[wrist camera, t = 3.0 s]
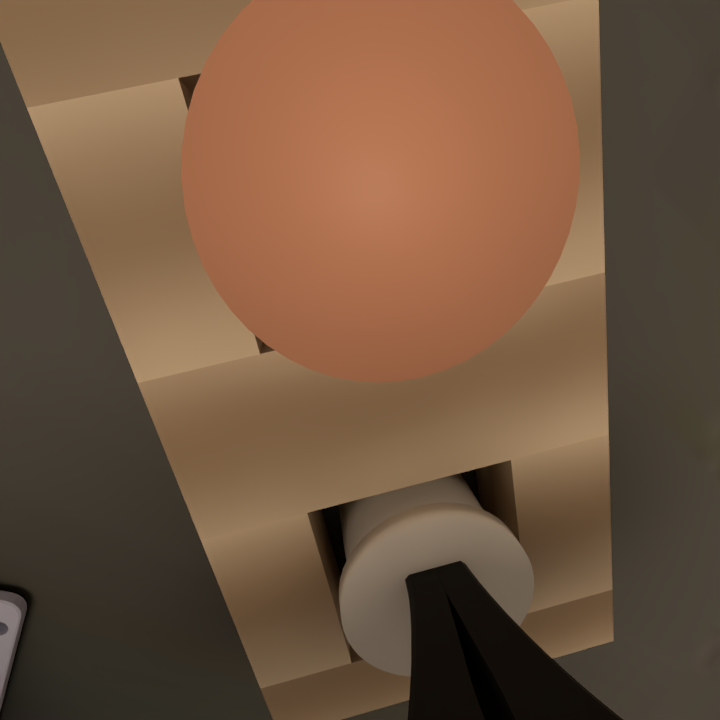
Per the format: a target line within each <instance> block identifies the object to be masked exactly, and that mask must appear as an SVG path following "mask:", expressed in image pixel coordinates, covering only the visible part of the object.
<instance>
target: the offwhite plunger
mask: <svg viewBox="0 0 720 720" xmlns="http://www.w3.org/2000/svg"><path fill="white" fill-rule="evenodd" d="M339 514H340V521H341V528H342V535H343V542H344V549H345V556H346V563H345V565H344V567H343V570H342V574H341V577H340V582H339V604H340V613H341V621H342V626H343V631H344V633H345V636H346V638H347V640H348V642H349V644H350V645H351V647H352V648H353V649H354V651H355V652H356V653H357V654H358V655H359V656H360V657H361V658H363V659H364V660H365V661H366V662H368V663H369V664H371V665H373V666H374V667H376V668H378V669H381V670H383V671H385V672H389V673H392V674H396V675H401V676H408V677H411V616H410V604H409V596H408V591H407V587H406V582H405V579H406V578H407V577H408V575H410V574H413V573H417V572H421V571H424V570H428V569H432V568H436V567H439V566H443V565H446V564H450V563H454V562H457V561H462V562H463V563H465V564H466V565H467V567H468V568H469V569H470V571H471V572H472V573H473V575H474V576H475V577H476V578H477V580H478V581H479V582H480V583H481V584H482V586H483V587H484V588H485V589H486V590H487V592H488V593H489V594H490V595H491V596H492V597H493V598H494V600H495V601H496V602H497V603H498V604H499V605H500V606H501V607H502V609H503V610H504V611H505V612H506V613H507V614H508V615H509V616H510V617H511V618H512V619H513V620H514V621H515V622H516V623H517V624H518V625H519V626H520V625H521V623H522V622H523V620H524V618H525V617H526V615H527V612H528V610H529V608H530V605H531V601H532V598H533V592H534V574H533V569H532V566H531V563H530V560H529V558H528V556H527V554H526V553H525V551H524V549H523V548H522V546H521V545H520V543H519V542H518V540H517V539H516V537H515V536H514V534H513V533H512V532H511V530H510V529H509V528H508V527H507V526H506V524H504V523H503V522H502V521H501V520H500V519H499V518H497V517H496V516H494V515H492V514H491V513H489V512H487V511H485V510H483V508H482V507H481V505H480V504H479V502H478V500H477V499H476V497H475V496H474V494H473V492H472V491H471V489H470V488H469V486H468V484H467V483H466V481H465V480H464V478H463V476H462V475H461V473H459V474H455V475H451V476H447V477H443V478H439V479H436V480H432V481H428V482H424V483H420V484H416V485H412V486H409V487H405V488H401V489H397V490H393V491H389V492H385V493H382V494H378V495H374V496H370V497H366V498H362V499H358V500H355V501H351V502H347V503H343V504H339Z"/></svg>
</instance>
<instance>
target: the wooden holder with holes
mask: <svg viewBox="0 0 720 720" xmlns="http://www.w3.org/2000/svg"><path fill="white" fill-rule="evenodd" d="M251 1H252V0H0V42H1V44H2V47H3V49H4V52H5V54H6V57H7V59H8V62H9V64H10V67H11V69H12V72H13V74H14V77H15V79H16V82H17V84H18V87H19V89H20V92H21V94H22V97H23V99H24V102H25V104H26V107H27V109H28V112H29V114H30V117H31V119H32V122H33V124H34V127H35V129H36V132H37V134H38V137H39V139H40V141H41V144H42V146H43V149H44V151H45V154H46V156H47V159H48V161H49V164H50V166H51V169H52V171H53V174H54V176H55V179H56V181H57V184H58V186H59V189H60V191H61V194H62V196H63V199H64V201H65V204H66V206H67V209H68V211H69V214H70V216H71V219H72V221H73V224H74V226H75V229H76V231H77V234H78V236H79V238H80V241H81V243H82V246H83V248H84V251H85V253H86V256H87V258H88V261H89V263H90V266H91V268H92V271H93V273H94V276H95V278H96V281H97V283H98V286H99V288H100V291H101V293H102V296H103V298H104V301H105V303H106V306H107V308H108V311H109V313H110V316H111V318H112V321H113V323H114V326H115V328H116V331H117V333H118V335H119V338H120V340H121V343H122V345H123V348H124V350H125V353H126V355H127V358H128V360H129V363H130V365H131V368H132V370H133V373H134V375H135V378H136V380H137V383H138V385H139V388H140V390H141V393H142V395H143V398H144V400H145V403H146V405H147V408H148V410H149V413H150V415H151V418H152V420H153V423H154V425H155V428H156V430H157V432H158V435H159V437H160V440H161V442H162V445H163V447H164V450H165V452H166V455H167V457H168V460H169V462H170V465H171V467H172V470H173V472H174V475H175V477H176V480H177V482H178V485H179V487H180V490H181V492H182V495H183V497H184V500H185V502H186V505H187V507H188V510H189V512H190V515H191V517H192V520H193V522H194V525H195V527H196V529H197V532H198V534H199V537H200V539H201V542H202V544H203V547H204V549H205V552H206V554H207V557H208V559H209V562H210V564H211V567H212V569H213V572H214V574H215V577H216V579H217V582H218V584H219V587H220V589H221V592H222V594H223V597H224V599H225V602H226V604H227V607H228V609H229V612H230V614H231V617H232V619H233V622H234V624H235V627H236V629H237V631H238V634H239V636H240V639H241V641H242V644H243V646H244V649H245V651H246V654H247V656H248V659H249V661H250V664H251V666H252V669H253V671H254V674H255V676H256V679H257V681H258V684H259V686H260V689H261V691H262V694H263V696H264V699H265V701H266V704H267V706H268V709H269V711H270V714H271V716H272V719H273V720H341V719H345V718H348V717H352V716H355V715H359V714H362V713H366V712H369V711H372V710H376V709H379V708H383V707H386V706H390V705H393V704H397V703H400V702H404V701H407V700H409V695H410V679H411V677H408V676H401V675H396V674H392V673H389V672H385V671H383V670H381V669H378V668H376V667H374V666H373V665H371V664H369V663H368V662H366V661H365V660H364V659H363V658H361V657H360V656H359V655H358V654H357V653H356V652H355V651H354V649H353V648H352V647H351V645H350V644H349V642H348V640H347V638H346V636H345V633H344V631H343V626H342V621H341V613H340V604H339V582H340V577H341V576H340V572H339V569H338V565H337V562H336V558H335V555H334V551H333V547H332V544H331V540H330V537H329V533H328V530H327V526H326V523H325V519H324V516H323V512H322V509H324V508H328V507H332V506H335V505H339V504H343V503H347V502H351V501H355V500H358V499H362V498H366V497H370V496H374V495H378V494H382V493H385V492H389V491H393V490H397V489H401V488H405V487H409V486H412V485H416V484H420V483H424V482H428V481H432V480H436V479H439V478H443V477H447V476H451V475H455V474H459V473H462V472H466V471H470V470H474V469H475V471H476V478H477V486H478V493H479V500H480V505H481V507H482V508H483V510H485V511H487V512H489V513H491V514H492V515H494V516H496V517H497V518H499V519H500V520H501V521H502V522H503V523H504V524H506V526H507V527H508V528H509V529H510V530H511V532H512V533H513V534H514V536H515V537H516V539H517V540H518V542H519V543H520V545H521V546H522V548H523V549H524V551H525V553H526V554H527V556H528V558H529V560H530V563H531V566H532V569H533V574H534V592H533V598H532V601H531V605H530V608H529V610H528V612H527V615H526V617H525V618H524V620H523V622H522V623H521V625H520V627H521V628H522V629H523V631H524V632H525V633H526V634H527V635H528V636H529V637H530V638H531V639H532V640H533V641H534V642H535V643H536V644H537V645H538V646H539V647H540V648H541V649H543V650H544V651H545V652H546V653H547V654H548V655H549V656H550V657H551V658H552V659H553V658H556V657H560V656H563V655H566V654H570V653H573V652H577V651H580V650H584V649H587V648H591V647H594V646H598V645H601V644H605V643H608V642H611V641H614V639H613V597H612V554H611V511H610V469H609V426H608V383H607V340H606V298H605V255H604V212H603V170H602V127H601V84H600V41H599V0H513V1H514V3H515V4H516V5H517V6H518V7H519V8H520V9H521V10H522V11H523V12H524V14H525V15H526V16H527V17H528V18H529V19H530V20H531V21H532V22H533V24H534V25H535V27H536V28H537V30H538V31H539V33H540V34H541V36H542V37H543V39H544V40H545V41H546V43H547V44H548V46H549V48H550V50H551V52H552V54H553V56H554V58H555V60H556V62H557V64H558V66H559V68H560V70H561V72H562V74H563V77H564V80H565V83H566V86H567V88H568V91H569V94H570V97H571V100H572V105H573V109H574V114H575V119H576V123H577V130H578V140H579V150H580V171H579V187H578V194H577V202H576V208H575V212H574V216H573V220H572V224H571V228H570V233H569V235H568V238H567V241H566V243H565V246H564V249H563V251H562V254H561V257H560V259H559V261H558V263H557V265H556V267H555V269H554V271H553V273H552V275H551V277H550V279H549V280H548V282H547V283H546V285H545V286H544V288H543V290H542V291H541V293H540V294H539V296H538V297H537V299H536V300H535V301H534V303H533V304H532V305H531V306H530V307H529V309H528V310H527V311H526V312H525V314H524V315H523V316H522V317H521V318H520V319H519V320H518V321H517V322H516V323H515V324H514V325H513V326H512V327H511V328H510V329H509V330H508V331H507V332H506V333H505V334H504V335H503V336H501V337H500V338H499V339H498V340H496V341H495V342H494V343H492V344H491V345H490V346H488V347H487V348H486V349H484V350H483V351H481V352H479V353H478V354H476V355H474V356H473V357H471V358H469V359H468V360H466V361H464V362H462V363H460V364H457V365H455V366H453V367H451V368H449V369H446V370H444V371H441V372H438V373H434V374H431V375H428V376H425V377H421V378H415V379H410V380H404V381H396V382H379V383H376V382H362V381H352V380H347V379H342V378H337V377H332V376H329V375H326V374H323V373H320V372H317V371H314V370H311V369H308V368H306V367H304V366H302V365H300V364H298V363H296V362H294V361H292V360H289V359H288V358H286V357H284V356H283V355H281V354H280V353H278V352H277V351H275V350H274V349H272V348H270V347H269V346H267V345H266V344H265V343H264V342H263V341H261V340H260V339H259V338H258V337H257V336H256V335H254V334H253V333H252V332H251V331H250V330H248V329H247V327H246V326H245V325H244V324H243V323H242V322H241V321H240V320H239V319H238V318H237V317H236V316H235V314H234V313H233V312H232V311H231V310H230V309H229V307H228V306H227V304H226V303H225V302H224V300H223V299H222V297H221V296H220V295H219V293H218V292H217V290H216V289H215V287H214V285H213V284H212V282H211V280H210V278H209V276H208V274H207V273H206V271H205V269H204V267H203V265H202V263H201V260H200V258H199V255H198V252H197V250H196V247H195V245H194V242H193V240H192V236H191V232H190V228H189V224H188V220H187V216H186V212H185V206H184V198H183V190H182V182H181V172H182V144H183V137H184V129H185V122H186V118H187V114H188V110H189V106H190V103H191V99H192V95H193V92H194V89H195V86H196V84H197V82H198V79H199V77H200V75H201V72H202V70H203V68H204V65H205V63H206V61H207V59H208V57H209V56H210V54H211V52H212V51H213V49H214V47H215V46H216V44H217V42H218V41H219V39H220V37H221V36H222V34H223V33H224V32H225V30H226V29H227V28H228V27H229V25H230V24H231V23H232V22H233V21H234V19H235V18H236V17H237V16H238V14H239V13H240V12H241V11H242V10H243V9H244V8H245V7H246V6H247V5H248V4H249V3H250V2H251Z"/></svg>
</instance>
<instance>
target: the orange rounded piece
mask: <svg viewBox="0 0 720 720" xmlns="http://www.w3.org/2000/svg"><path fill="white" fill-rule="evenodd" d="M579 171H580V150H579V140H578V130H577V123H576V119H575V114H574V109H573V105H572V100H571V97H570V94H569V91H568V88H567V86H566V83H565V80H564V77H563V74H562V72H561V70H560V68H559V66H558V64H557V62H556V60H555V58H554V56H553V54H552V52H551V50H550V48H549V46H548V44H547V43H546V41H545V40H544V39H543V37H542V36H541V34H540V33H539V31H538V30H537V28H536V27H535V25H534V24H533V22H532V21H531V20H530V19H529V18H528V17H527V16H526V15H525V14H524V12H523V11H522V10H521V9H520V8H519V7H518V6H517V5H516V4H515V3H514V1H513V0H252V1H251V2H250V3H249V4H248V5H247V6H246V7H245V8H244V9H243V10H242V11H241V12H240V13H239V14H238V16H237V17H236V18H235V19H234V21H233V22H232V23H231V24H230V25H229V27H228V28H227V29H226V30H225V32H224V33H223V34H222V36H221V37H220V39H219V41H218V42H217V44H216V46H215V47H214V49H213V51H212V52H211V54H210V56H209V57H208V59H207V61H206V63H205V65H204V68H203V70H202V72H201V75H200V77H199V79H198V82H197V84H196V86H195V89H194V92H193V95H192V99H191V103H190V106H189V110H188V114H187V118H186V122H185V129H184V137H183V144H182V172H181V182H182V190H183V198H184V206H185V212H186V216H187V220H188V224H189V228H190V232H191V236H192V240H193V242H194V245H195V247H196V250H197V252H198V255H199V258H200V260H201V263H202V265H203V267H204V269H205V271H206V273H207V274H208V276H209V278H210V280H211V282H212V284H213V285H214V287H215V289H216V290H217V292H218V293H219V295H220V296H221V297H222V299H223V300H224V302H225V303H226V304H227V306H228V307H229V309H230V310H231V311H232V312H233V313H234V314H235V316H236V317H237V318H238V319H239V320H240V321H241V322H242V323H243V324H244V325H245V326H246V327H247V329H248V330H250V331H251V332H252V333H253V334H254V335H256V336H257V337H258V338H259V339H260V340H261V341H263V342H264V343H265V344H266V345H267V346H269V347H270V348H272V349H274V350H275V351H277V352H278V353H280V354H281V355H283V356H284V357H286V358H288V359H289V360H292V361H294V362H296V363H298V364H300V365H302V366H304V367H306V368H308V369H311V370H314V371H317V372H320V373H323V374H326V375H329V376H332V377H337V378H342V379H347V380H352V381H362V382H376V383H379V382H396V381H404V380H410V379H415V378H421V377H425V376H428V375H431V374H434V373H438V372H441V371H444V370H446V369H449V368H451V367H453V366H455V365H457V364H460V363H462V362H464V361H466V360H468V359H469V358H471V357H473V356H474V355H476V354H478V353H479V352H481V351H483V350H484V349H486V348H487V347H488V346H490V345H491V344H492V343H494V342H495V341H496V340H498V339H499V338H500V337H501V336H503V335H504V334H505V333H506V332H507V331H508V330H509V329H510V328H511V327H512V326H513V325H514V324H515V323H516V322H517V321H518V320H519V319H520V318H521V317H522V316H523V315H524V314H525V312H526V311H527V310H528V309H529V307H530V306H531V305H532V304H533V303H534V301H535V300H536V299H537V297H538V296H539V294H540V293H541V291H542V290H543V288H544V286H545V285H546V283H547V282H548V280H549V279H550V277H551V275H552V273H553V271H554V269H555V267H556V265H557V263H558V261H559V259H560V257H561V254H562V251H563V249H564V246H565V243H566V241H567V238H568V235H569V233H570V228H571V224H572V220H573V216H574V212H575V208H576V202H577V194H578V187H579Z"/></svg>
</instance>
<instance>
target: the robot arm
mask: <svg viewBox="0 0 720 720" xmlns="http://www.w3.org/2000/svg"><path fill="white" fill-rule="evenodd" d="M405 582H406V587H407V591H408V596H409V604H410V616H411V679H410V695H409V711H408V720H623V719H622V718H620V717H619V716H618V715H616V714H615V713H614V712H613V711H612V710H610V709H609V708H608V707H607V706H606V705H604V704H603V703H602V702H601V701H599V700H598V699H597V698H596V697H595V696H593V695H592V694H591V693H590V692H589V691H588V690H586V689H585V688H584V687H583V686H582V685H581V684H580V683H578V682H577V681H576V680H575V679H574V678H573V677H572V676H571V675H569V674H568V673H567V672H566V671H565V670H564V669H563V668H562V667H561V666H560V665H558V664H557V663H556V662H555V661H554V660H553V659H552V658H551V657H550V656H549V655H548V654H547V653H546V652H545V651H544V650H543V649H541V648H540V647H539V646H538V645H537V644H536V643H535V642H534V641H533V640H532V639H531V638H530V637H529V636H528V635H527V634H526V633H525V632H524V631H523V629H522V628H521V627H520V626H519V625H518V624H517V623H516V622H515V621H514V620H513V619H512V618H511V617H510V616H509V615H508V614H507V613H506V612H505V611H504V610H503V609H502V607H501V606H500V605H499V604H498V603H497V602H496V601H495V600H494V598H493V597H492V596H491V595H490V594H489V593H488V592H487V590H486V589H485V588H484V587H483V586H482V584H481V583H480V582H479V581H478V580H477V578H476V577H475V576H474V575H473V573H472V572H471V571H470V569H469V568H468V567H467V565H466V564H465V563H463V562H462V561H457V562H454V563H450V564H446V565H443V566H439V567H436V568H432V569H428V570H424V571H421V572H417V573H413V574H410V575H408V577H407V578H406V579H405ZM26 611H27V603H26V602H25V600H24V598H22V597H21V596H20V595H18V594H15V593H12V592H6V591H1V590H0V710H1V707H2V703H3V699H4V695H5V691H6V687H7V684H8V680H9V676H10V672H11V668H12V664H13V661H14V657H15V653H16V649H17V645H18V641H19V637H20V634H21V630H22V626H23V622H24V618H25V614H26ZM1 622H2V623H1ZM4 623H5V624H4Z"/></svg>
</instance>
